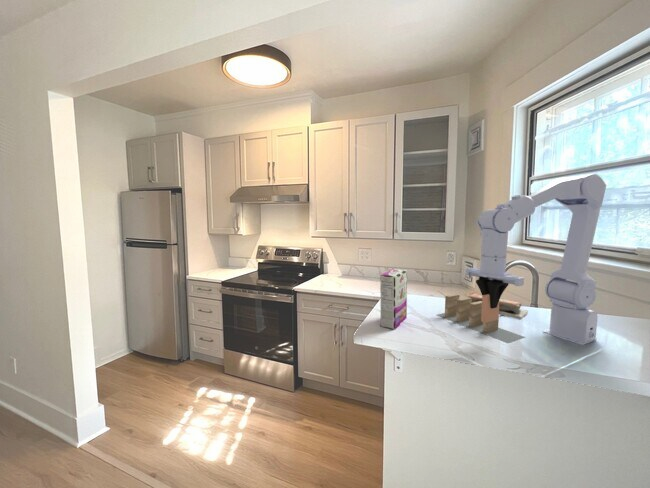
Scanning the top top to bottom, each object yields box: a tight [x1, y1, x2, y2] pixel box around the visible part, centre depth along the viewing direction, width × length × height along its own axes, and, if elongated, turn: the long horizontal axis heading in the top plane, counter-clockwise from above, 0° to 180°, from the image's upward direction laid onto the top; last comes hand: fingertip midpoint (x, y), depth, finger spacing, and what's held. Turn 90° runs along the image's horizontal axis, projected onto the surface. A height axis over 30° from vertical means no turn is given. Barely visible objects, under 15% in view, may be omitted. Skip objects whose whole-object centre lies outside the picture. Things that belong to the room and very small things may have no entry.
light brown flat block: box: [483, 318, 500, 333], centre depth 84 cm, size 1×5×7 cm, turn 117°
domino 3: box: [469, 301, 483, 327], centre depth 88 cm, size 1×5×7 cm, turn 117°
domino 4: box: [481, 294, 501, 323], centre depth 76 cm, size 1×5×7 cm, turn 116°
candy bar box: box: [379, 268, 408, 330], centre depth 91 cm, size 11×5×16 cm, turn 146°
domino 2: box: [456, 296, 472, 322], centre depth 92 cm, size 1×5×7 cm, turn 117°
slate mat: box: [436, 312, 526, 344], centre depth 89 cm, size 24×8×1 cm, turn 27°
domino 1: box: [444, 293, 460, 318], centre depth 96 cm, size 1×5×7 cm, turn 117°
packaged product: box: [467, 293, 529, 320], centre depth 103 cm, size 18×5×10 cm
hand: (490, 306), depth 76 cm, fingers closed on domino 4, 1 cm apart
